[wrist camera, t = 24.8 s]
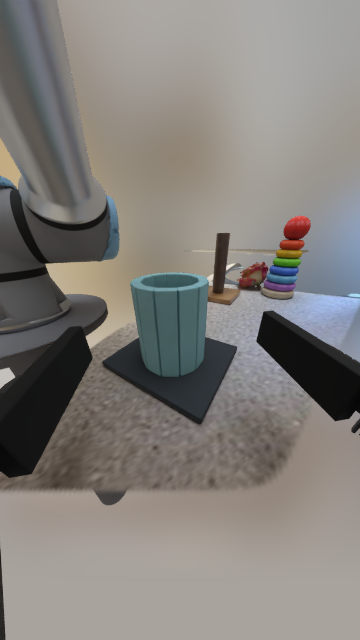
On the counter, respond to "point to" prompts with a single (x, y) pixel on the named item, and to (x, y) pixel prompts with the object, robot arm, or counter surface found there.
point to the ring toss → (221, 273)
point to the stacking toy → (287, 260)
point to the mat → (178, 392)
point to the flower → (253, 275)
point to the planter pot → (171, 321)
